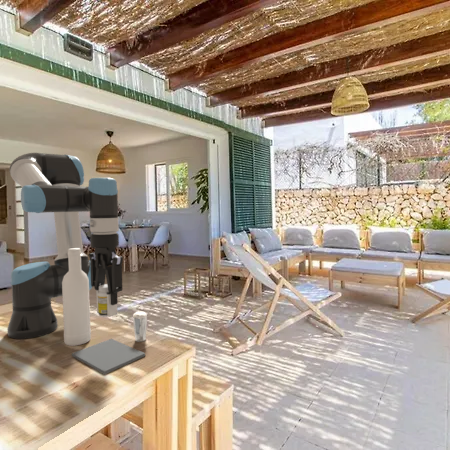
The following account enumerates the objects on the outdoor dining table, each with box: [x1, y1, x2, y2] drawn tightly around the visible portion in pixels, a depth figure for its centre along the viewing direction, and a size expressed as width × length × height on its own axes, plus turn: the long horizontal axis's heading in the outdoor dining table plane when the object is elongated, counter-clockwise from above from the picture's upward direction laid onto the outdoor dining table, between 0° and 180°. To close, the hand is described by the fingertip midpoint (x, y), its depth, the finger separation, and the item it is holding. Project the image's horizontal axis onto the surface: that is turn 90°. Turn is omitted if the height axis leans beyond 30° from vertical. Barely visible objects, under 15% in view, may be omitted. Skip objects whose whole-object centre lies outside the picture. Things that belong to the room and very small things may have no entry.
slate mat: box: [71, 338, 146, 375], centre depth 96 cm, size 17×13×1 cm
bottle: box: [62, 248, 92, 347], centre depth 106 cm, size 8×8×30 cm
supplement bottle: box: [97, 283, 109, 318], centre depth 95 cm, size 5×5×8 cm
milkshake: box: [132, 309, 150, 343], centre depth 107 cm, size 4×5×10 cm
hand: (107, 313), depth 95 cm, fingers closed on supplement bottle, 5 cm apart
